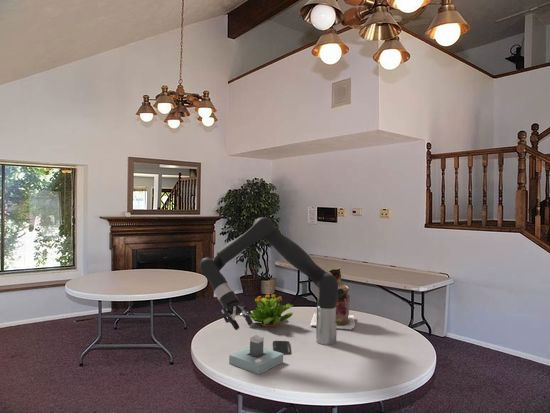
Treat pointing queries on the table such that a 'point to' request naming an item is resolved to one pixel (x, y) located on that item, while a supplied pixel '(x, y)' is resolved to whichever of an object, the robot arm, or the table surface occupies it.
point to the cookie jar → (340, 305)
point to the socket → (256, 360)
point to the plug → (256, 346)
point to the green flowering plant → (270, 311)
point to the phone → (281, 347)
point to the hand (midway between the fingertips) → (244, 326)
